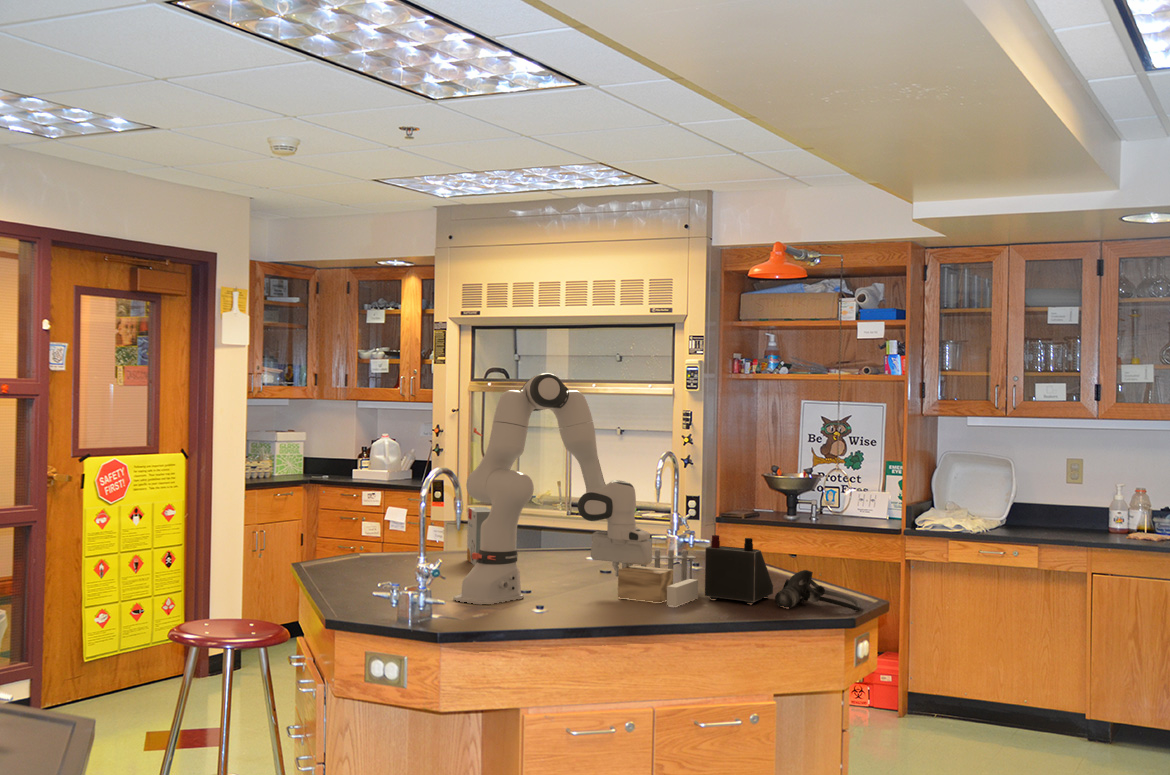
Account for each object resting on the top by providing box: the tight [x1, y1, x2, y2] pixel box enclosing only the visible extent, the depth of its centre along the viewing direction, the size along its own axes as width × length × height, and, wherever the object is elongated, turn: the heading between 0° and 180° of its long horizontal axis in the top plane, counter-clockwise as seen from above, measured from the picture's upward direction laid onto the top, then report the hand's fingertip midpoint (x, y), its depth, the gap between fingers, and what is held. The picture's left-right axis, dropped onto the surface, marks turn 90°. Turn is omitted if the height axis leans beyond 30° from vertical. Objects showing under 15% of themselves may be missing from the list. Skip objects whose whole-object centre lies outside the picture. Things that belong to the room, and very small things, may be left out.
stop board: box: [666, 578, 699, 606], centre depth 311 cm, size 16×3×6 cm, turn 150°
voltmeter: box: [704, 534, 774, 603], centre depth 319 cm, size 16×16×20 cm
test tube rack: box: [621, 549, 698, 582], centre depth 331 cm, size 25×4×13 cm, turn 97°
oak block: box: [617, 564, 674, 602], centre depth 317 cm, size 10×14×9 cm
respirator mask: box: [774, 569, 862, 611], centre depth 310 cm, size 20×22×15 cm
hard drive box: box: [466, 506, 491, 567], centre depth 381 cm, size 16×8×20 cm, turn 17°
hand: (620, 576), depth 322 cm, fingers closed
